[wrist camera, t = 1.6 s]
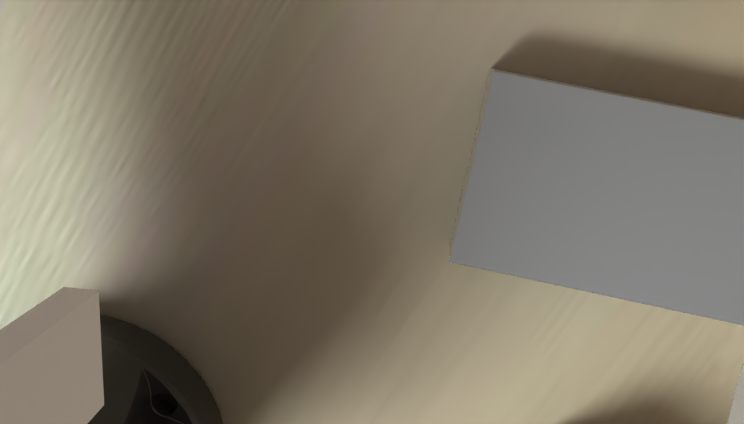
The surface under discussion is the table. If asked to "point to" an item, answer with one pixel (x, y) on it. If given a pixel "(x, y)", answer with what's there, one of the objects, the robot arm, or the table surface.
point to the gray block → (606, 195)
